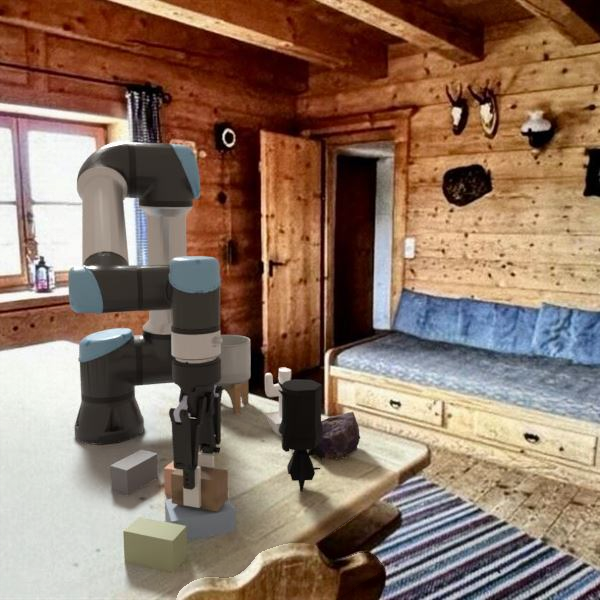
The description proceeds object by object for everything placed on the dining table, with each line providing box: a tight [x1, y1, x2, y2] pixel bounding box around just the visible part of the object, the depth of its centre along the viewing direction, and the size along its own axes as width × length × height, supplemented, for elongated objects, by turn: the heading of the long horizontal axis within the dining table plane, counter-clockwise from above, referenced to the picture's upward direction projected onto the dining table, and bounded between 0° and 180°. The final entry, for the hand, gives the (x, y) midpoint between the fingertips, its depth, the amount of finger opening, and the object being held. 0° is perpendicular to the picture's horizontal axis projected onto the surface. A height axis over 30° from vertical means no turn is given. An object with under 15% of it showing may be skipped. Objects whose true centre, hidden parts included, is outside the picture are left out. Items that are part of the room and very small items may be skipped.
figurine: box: [264, 366, 292, 437], centre depth 130 cm, size 7×9×15 cm
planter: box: [214, 334, 252, 415], centre depth 146 cm, size 13×13×18 cm
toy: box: [276, 379, 327, 493], centre depth 103 cm, size 8×9×20 cm
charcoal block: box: [109, 449, 159, 497], centre depth 105 cm, size 8×4×5 cm, turn 152°
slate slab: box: [164, 496, 236, 542], centre depth 92 cm, size 10×7×4 cm
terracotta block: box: [163, 460, 216, 496], centre depth 103 cm, size 8×4×5 cm, turn 73°
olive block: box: [122, 516, 188, 574], centre depth 83 cm, size 8×4×5 cm, turn 72°
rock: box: [307, 411, 361, 460], centre depth 118 cm, size 12×9×10 cm
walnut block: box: [171, 466, 229, 511], centre depth 91 cm, size 8×4×5 cm, turn 72°
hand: (199, 497), depth 91 cm, fingers closed on walnut block, 4 cm apart
